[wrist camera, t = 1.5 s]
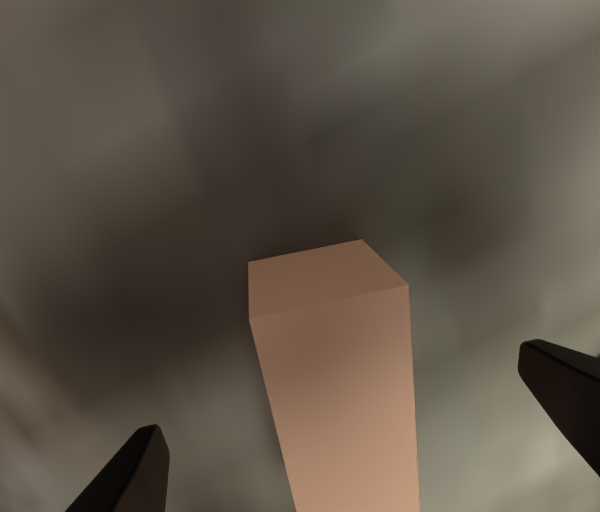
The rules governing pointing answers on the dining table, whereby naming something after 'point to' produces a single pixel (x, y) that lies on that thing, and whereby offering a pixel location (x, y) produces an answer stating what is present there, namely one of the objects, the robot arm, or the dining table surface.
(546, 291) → the dining table surface
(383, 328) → the peg
